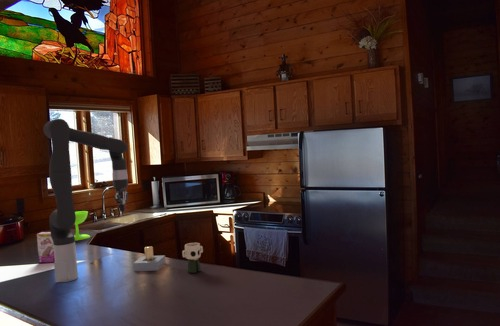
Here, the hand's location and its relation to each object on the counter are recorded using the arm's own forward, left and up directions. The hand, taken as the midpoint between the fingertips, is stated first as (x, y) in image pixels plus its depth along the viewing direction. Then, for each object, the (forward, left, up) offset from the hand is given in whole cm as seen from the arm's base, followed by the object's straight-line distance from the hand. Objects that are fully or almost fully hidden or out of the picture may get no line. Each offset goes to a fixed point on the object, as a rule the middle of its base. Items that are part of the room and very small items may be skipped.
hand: (122, 211), depth 208 cm
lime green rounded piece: (+67, +65, -28) cm, 97 cm away
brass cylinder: (-9, -16, -27) cm, 33 cm away
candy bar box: (+8, +48, -28) cm, 56 cm away
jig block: (-9, -16, -27) cm, 33 cm away
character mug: (-19, -41, -28) cm, 53 cm away
